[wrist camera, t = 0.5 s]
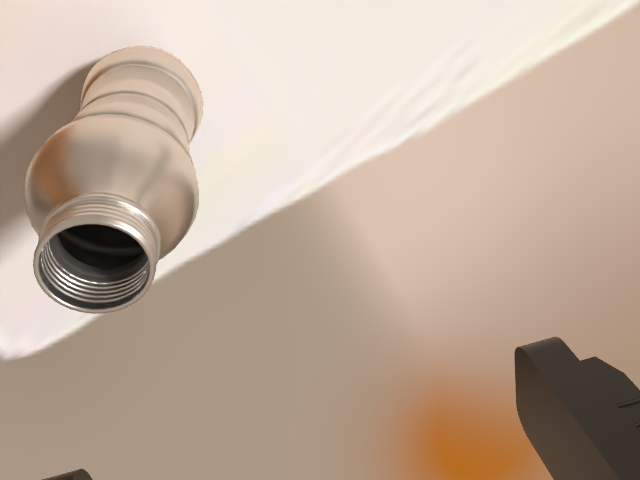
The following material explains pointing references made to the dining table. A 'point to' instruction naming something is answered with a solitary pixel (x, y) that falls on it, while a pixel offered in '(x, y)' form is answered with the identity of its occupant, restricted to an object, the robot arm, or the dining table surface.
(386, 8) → the dining table surface
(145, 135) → the plastic bottle
